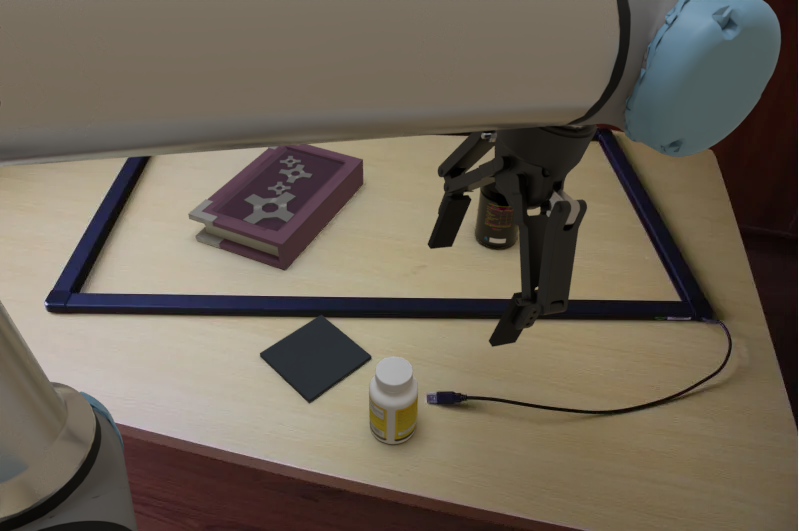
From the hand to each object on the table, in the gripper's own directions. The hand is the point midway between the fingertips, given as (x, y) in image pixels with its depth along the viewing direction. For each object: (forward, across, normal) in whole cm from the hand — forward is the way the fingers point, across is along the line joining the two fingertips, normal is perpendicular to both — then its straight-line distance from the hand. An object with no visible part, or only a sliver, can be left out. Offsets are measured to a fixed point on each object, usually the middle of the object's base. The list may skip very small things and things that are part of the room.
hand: (468, 290), depth 65 cm
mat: (+22, +11, +9) cm, 26 cm away
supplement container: (+16, +24, -24) cm, 38 cm away
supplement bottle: (+20, -2, +4) cm, 20 cm away
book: (+24, +42, +3) cm, 49 cm away
